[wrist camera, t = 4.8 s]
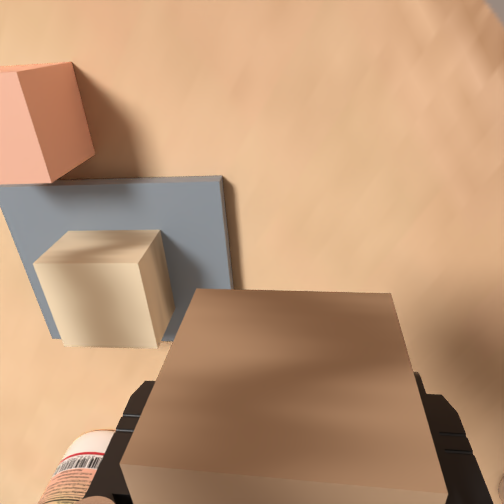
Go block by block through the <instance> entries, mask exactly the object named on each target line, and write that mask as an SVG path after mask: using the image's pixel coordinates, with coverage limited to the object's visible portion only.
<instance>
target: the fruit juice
mask: <svg viewBox="0 0 504 504" xmlns="http://www.w3.org/2000/svg"><path fill="white" fill-rule="evenodd" d="M114 432H116V431H107V430H100V431H92V432H88V433H85V434H83V435H81V436H79V437H78V438H77V439H76V440H75V441H74V442H73V443H72V444H71V445H70V447H69V448H68V449H67V451H66V452H65V454H64V456H63V458H62V460H61V462H60V463H59V465H58V467H57V469H56V471H55V473H54V475H53V476H52V478H51V480H50V482H49V484H48V486H47V487H46V489H45V491H44V493H43V495H42V497H41V499H40V500H39V502H38V504H74V503H76V502H78V501H80V500H82V498H83V497H84V495H85V494H86V492H87V490H88V488H89V486H90V484H91V482H92V480H93V477H94V475H95V473H96V471H97V469H98V467H99V464H100V462H101V460H102V458H103V456H104V454H105V451H106V449H107V447H108V445H109V443H110V440H111V438H112V436H113V434H114Z"/></svg>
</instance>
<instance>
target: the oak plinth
mask: <svg viewBox="0 0 504 504" xmlns="http://www.w3.org/2000/svg"><path fill="white" fill-rule="evenodd" d="M33 266H34V268H35V271H36V274H37V276H38V279H39V281H40V284H41V287H42V289H43V292H44V295H45V297H46V300H47V302H48V305H49V308H50V310H51V313H52V316H53V318H54V321H55V323H56V326H57V329H58V331H59V334H60V337H61V339H62V342H63V344H64V346H65V347H107V348H149V349H158V347H159V345H160V342H161V340H162V338H163V335H164V333H165V331H166V329H167V326H168V324H169V322H170V319H171V317H172V315H173V312H174V310H175V304H174V299H173V293H172V288H171V283H170V278H169V273H168V268H167V262H166V257H165V252H164V247H163V242H162V236H161V231H160V230H94V231H68V232H67V233H66V234H64V235H63V236H62V237H61V238H60V239H59V240H58V241H57V242H56V243H55V244H54V245H52V246H51V247H50V248H49V249H48V250H47V251H46V252H45V253H44V254H43V255H41V256H40V257H39V258H38V259H37V260H36V261H35V262H34V263H33Z"/></svg>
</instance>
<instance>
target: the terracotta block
mask: <svg viewBox="0 0 504 504" xmlns="http://www.w3.org/2000/svg"><path fill="white" fill-rule="evenodd" d="M94 155H95V151H94V147H93V143H92V140H91V136H90V132H89V128H88V124H87V120H86V116H85V112H84V108H83V104H82V100H81V96H80V92H79V89H78V85H77V81H76V77H75V73H74V69H73V65H72V62H62V63H47V64H31V65H16V66H1V67H0V184H35V183H52V182H54V181H55V180H57V179H59V178H60V177H62V176H63V175H65V174H66V173H68V172H69V171H71V170H72V169H74V168H75V167H77V166H78V165H80V164H81V163H83V162H85V161H86V160H88V159H89V158H91V157H92V156H94Z"/></svg>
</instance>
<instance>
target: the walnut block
mask: <svg viewBox="0 0 504 504" xmlns="http://www.w3.org/2000/svg"><path fill="white" fill-rule="evenodd" d="M120 467H121V470H122V472H123V475H124V478H125V481H126V484H127V487H128V490H129V493H130V495H131V498H132V501H133V504H445V503H446V499H447V496H448V491H447V488H446V484H445V481H444V477H443V474H442V471H441V467H440V464H439V460H438V457H437V453H436V450H435V446H434V443H433V439H432V436H431V432H430V429H429V425H428V422H427V418H426V415H425V411H424V408H423V404H422V401H421V397H420V394H419V390H418V387H417V383H416V380H415V376H414V373H413V369H412V366H411V362H410V359H409V355H408V352H407V348H406V345H405V341H404V338H403V334H402V331H401V327H400V324H399V320H398V317H397V313H396V310H395V306H394V303H393V299H392V296H391V294H390V293H352V292H313V291H275V290H236V289H198V288H196V291H195V293H194V295H193V298H192V300H191V302H190V304H189V307H188V309H187V311H186V313H185V316H184V318H183V320H182V323H181V325H180V327H179V329H178V332H177V334H176V336H175V339H174V341H173V343H172V345H171V348H170V350H169V352H168V354H167V357H166V359H165V361H164V364H163V366H162V368H161V370H160V373H159V375H158V377H157V379H156V382H155V384H154V386H153V389H152V391H151V393H150V395H149V398H148V400H147V402H146V405H145V407H144V409H143V411H142V414H141V416H140V418H139V420H138V423H137V425H136V427H135V430H134V432H133V434H132V436H131V439H130V441H129V443H128V445H127V448H126V450H125V452H124V455H123V457H122V459H121V461H120Z"/></svg>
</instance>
